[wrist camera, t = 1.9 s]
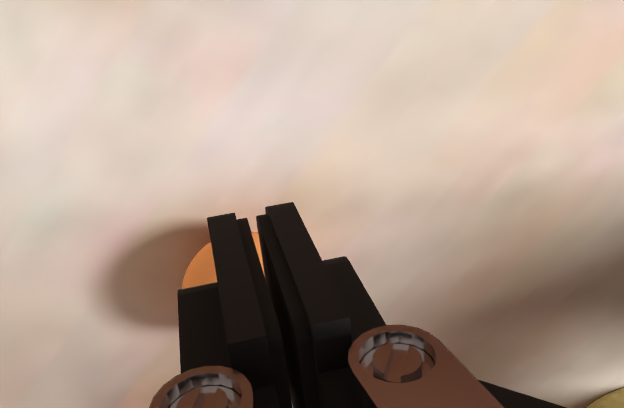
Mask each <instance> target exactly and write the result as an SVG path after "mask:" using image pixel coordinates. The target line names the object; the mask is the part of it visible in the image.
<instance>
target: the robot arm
mask: <svg viewBox="0 0 624 408" xmlns="http://www.w3.org/2000/svg"><path fill="white" fill-rule="evenodd" d="M265 211H266V214H265V215H259V216H256V220H257V228H258V234H259V241H260V248H261V254H262V261H263V268H264V273H263V270H262V266H261V263H260V260H259V256H258V253H257V250H256V246H255V243H254V240H253V236H252V233H251V230H250V226H249V223H248V220H247V218H243V219H238V220H236V216H235V213H230V214H225V215H219V216H214V217H208V218H207V220H208V227H209V233H210V239H211V245H212V252H213V258H214V264H215V271H216V277H217V282H215V283H210V284H205V285H200V286H195V287H190V288H185V289H180V290H178V316H179V340H180V364H181V374H179V375H177V376H175V377H174V378H172V379H171V380H170V381H168V382H167V383H166V384H164V385H163V386H162V387H161V388H160V390H159V391H158V392H157V393H156V394H155V396H154V397H153V400H152V402H151V404H150V407H149V408H292V404H293V408H566V407H563V406H559V405H556V404H553V403H550V402H547V401H544V400H540V399H537V398H534V397H531V396H528V395H525V394H521V393H518V392H515V391H512V390H509V389H506V388H502V387H499V386H496V385H493V384H490V383H487V382H483V381H480V380H477V379H476V378H475V377H474V376H473V375H472V374H471V373H470V372H469V371H468V370H467V368H466V367H465V366H464V365H463V364H462V363H461V362H460V361H459V360H458V359H457V358H456V357H455V356H454V355H453V354H452V353H451V352H450V351H449V350H448V349H447V348H446V347H445V346H444V345H443V344H442V343H441V342H440V341H439V340H438V339H437V338H436V337H434V336H433V335H432V334H430V333H429V332H426V331H424V330H422V329H419V328H417V327H411V326H406V325H386V324H385V322H384V320H383V319H382V317H381V315H380V313H379V312H378V310H377V308H376V307H375V305H374V303H373V301H372V300H371V298H370V296H369V294H368V293H367V291H366V289H365V288H364V286H363V284H362V282H361V281H360V279H359V277H358V275H357V274H356V272H355V270H354V269H353V267H352V265H351V263H350V262H349V260H348V259H347V258H346V257H339V258H334V259H329V260H324V261H322V260H321V258H320V255H319V253H318V251H317V249H316V247H315V245H314V243H313V241H312V239H311V237H310V235H309V233H308V231H307V229H306V227H305V225H304V223H303V221H302V219H301V217H300V215H299V213H298V211H297V209H296V207H295V205H294V203H293V202H290V203H285V204H279V205H274V206H269V207H266V208H265ZM264 275H265V276H264ZM291 401H292V402H291Z"/></svg>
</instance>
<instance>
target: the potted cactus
mask: <svg viewBox="0 0 624 408" xmlns="http://www.w3.org/2000/svg"><path fill="white" fill-rule="evenodd" d="M586 408H624V388H621V389H618V390H616V391H613V392H611V393H609V394H607V395H605V396H603V397H601V398H599V399H597V400H596V401H594V402H593V403H591V404H590V405H589V406H587V407H586Z"/></svg>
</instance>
